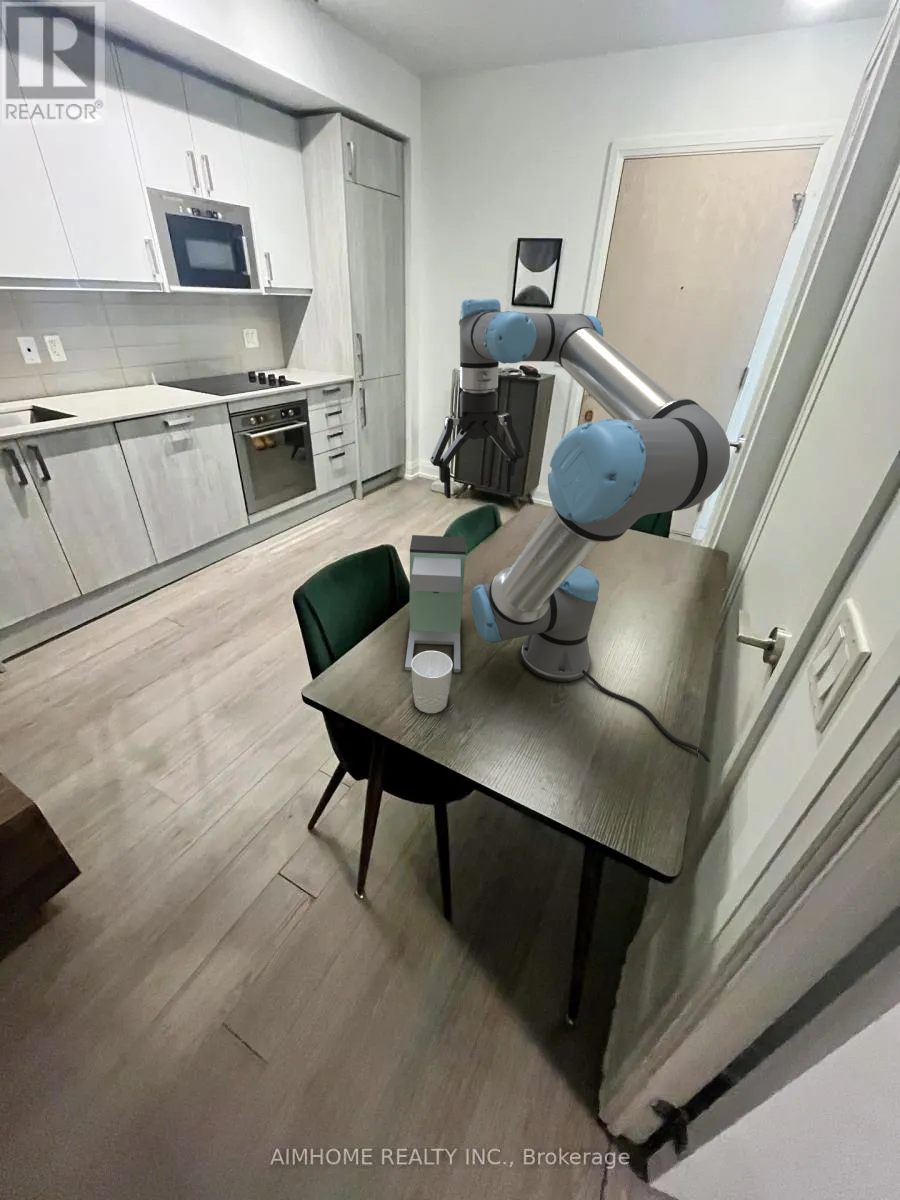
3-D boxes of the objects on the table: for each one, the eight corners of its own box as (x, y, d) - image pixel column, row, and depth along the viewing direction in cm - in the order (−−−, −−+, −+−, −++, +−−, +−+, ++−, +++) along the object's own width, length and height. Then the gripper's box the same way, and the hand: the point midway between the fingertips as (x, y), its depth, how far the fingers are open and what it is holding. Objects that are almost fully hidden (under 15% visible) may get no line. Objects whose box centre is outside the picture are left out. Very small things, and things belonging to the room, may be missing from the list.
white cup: (445, 719, 94) (448, 680, 88) (406, 712, 95) (406, 673, 90) (453, 691, 100) (456, 654, 95) (416, 685, 102) (417, 647, 96)
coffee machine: (460, 672, 105) (466, 583, 93) (404, 670, 105) (404, 580, 93) (459, 619, 122) (465, 537, 110) (411, 617, 122) (412, 534, 110)
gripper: (421, 396, 91) (425, 504, 102) (544, 389, 96) (536, 493, 107) (413, 390, 97) (418, 493, 108) (530, 384, 102) (523, 483, 113)
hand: (477, 493), depth 107 cm, fingers open, 13 cm apart
